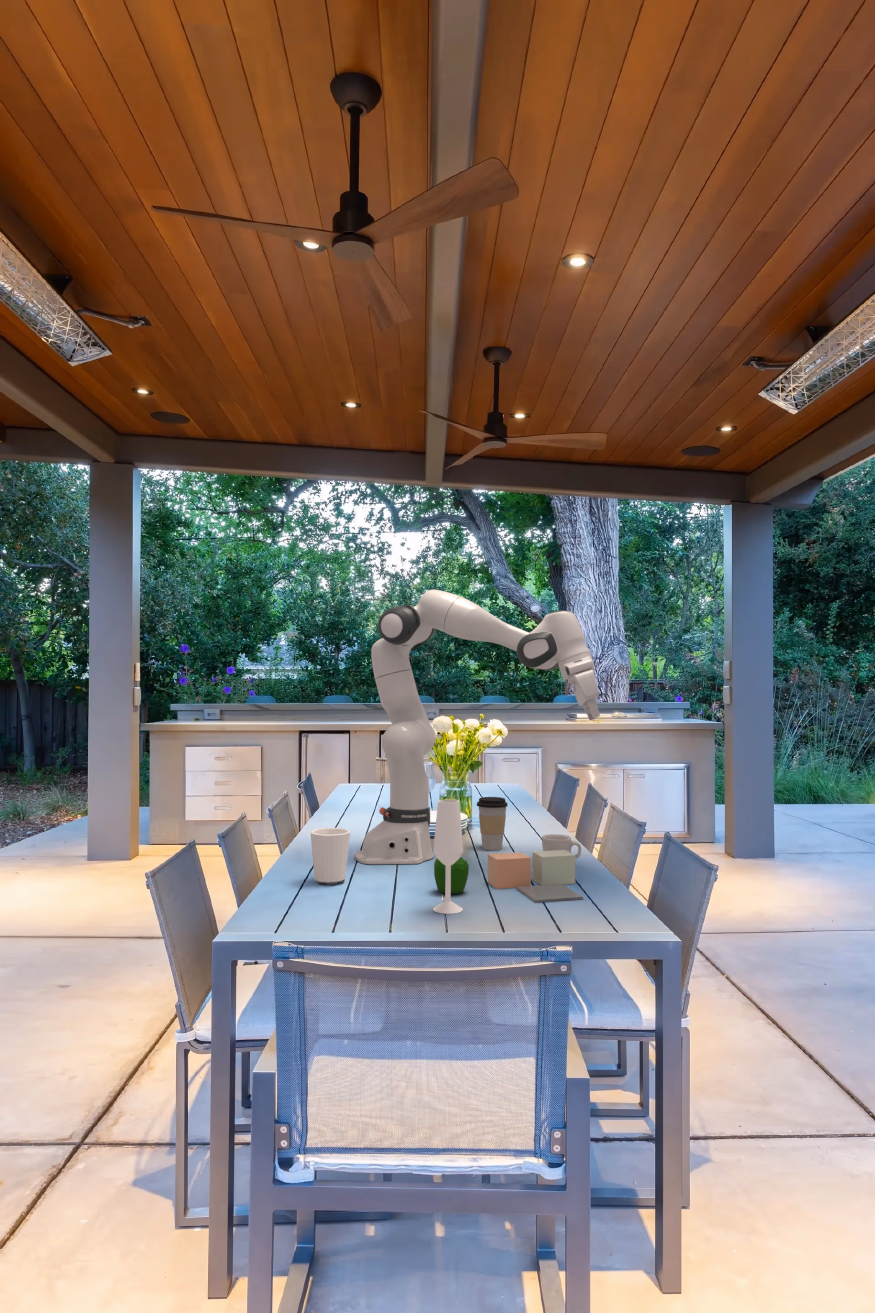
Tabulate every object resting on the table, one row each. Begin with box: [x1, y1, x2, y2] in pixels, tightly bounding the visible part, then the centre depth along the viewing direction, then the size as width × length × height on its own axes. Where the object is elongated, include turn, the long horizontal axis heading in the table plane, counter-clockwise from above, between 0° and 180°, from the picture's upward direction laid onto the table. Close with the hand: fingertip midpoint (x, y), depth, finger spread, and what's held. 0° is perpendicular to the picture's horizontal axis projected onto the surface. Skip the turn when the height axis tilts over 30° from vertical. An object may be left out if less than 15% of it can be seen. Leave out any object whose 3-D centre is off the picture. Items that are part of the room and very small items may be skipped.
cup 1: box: [310, 827, 351, 887], centre depth 204 cm, size 10×10×13 cm
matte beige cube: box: [531, 850, 576, 886], centre depth 206 cm, size 9×6×7 cm
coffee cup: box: [476, 796, 509, 852], centre depth 245 cm, size 9×9×15 cm
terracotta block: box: [487, 851, 532, 890], centre depth 203 cm, size 9×6×7 cm
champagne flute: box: [432, 799, 464, 915], centre depth 181 cm, size 7×7×24 cm
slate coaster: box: [516, 884, 584, 904], centre depth 194 cm, size 12×12×1 cm
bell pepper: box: [433, 856, 470, 895], centre depth 196 cm, size 8×8×10 cm
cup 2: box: [541, 833, 582, 860], centre depth 223 cm, size 11×8×8 cm
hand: (594, 718), depth 211 cm, fingers open, 8 cm apart
